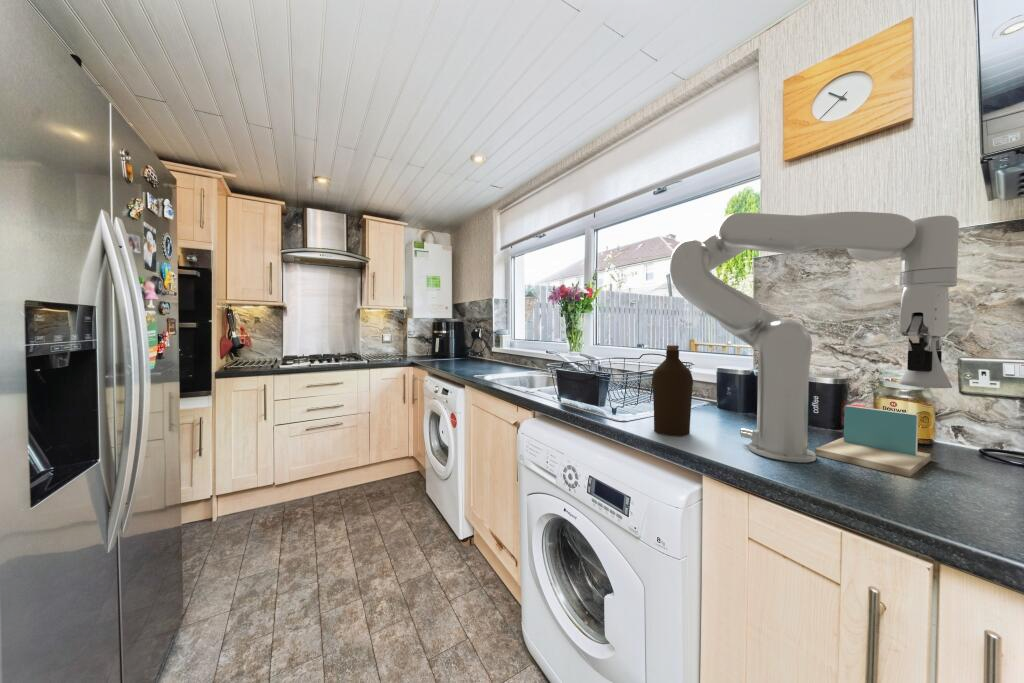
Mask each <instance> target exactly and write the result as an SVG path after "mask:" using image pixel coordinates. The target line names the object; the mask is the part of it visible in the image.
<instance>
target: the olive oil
mask: <svg viewBox="0 0 1024 683" xmlns="http://www.w3.org/2000/svg"><path fill="white" fill-rule="evenodd" d="M679 347H680V346H679V345H673V344H671V345H666V351H665V356H666V357H665V359H664V360H663V361H662V362H661V363H660V364H659V365H658V366H657V367H656V368H655V369H654V372H653V374H652V378H651V379H652V396H653V397H652V399H653V400H652V401H653V429H654V431H655V432H656V433H657V434H660V435H666V436H672V437H684V436H685V437H686V436H688V435H690V431H691V430H690V429H691V416H692V414H691V413H692V399H693V386H694V378H693V375H692V372H691V370H690V369H689V368H688V367H687V365H686V364H684V363H683V362H682V361H681V360H680V349H679Z"/></svg>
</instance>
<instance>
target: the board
mask: <svg viewBox="0 0 1024 683" xmlns="http://www.w3.org/2000/svg"><path fill="white" fill-rule="evenodd" d="M814 453H815V454H816V457H817V456H818V457H820V458H821V457H822V458H826V459H831V460H834V461H839V462H843V463H846V464H847V463H848V464H851V465H855V466H856V465H857V466H860V467H865V468H869V469H873V470H878V471H883V472H887V473H891V474H895V475H899V476H904V477H908V478H910V477H912V476H913V475H915V473H917V472H918V471H919V470H921V469H922V468H923V467H925V466H926V465H927V464H929V463H930V462H931V453H926V452H922V451H917V455H916V456H914V455H909V454H904V453H899V452H894V451H889V450H883V449H878V448H873V447H868V446H863V445H858V444H853V443H848V442H844V436H843V437H840V438H838V439H835V440H833V441H830V442H827V443H826V444H823V445H821V446H818V447H816V448H815V449H814Z"/></svg>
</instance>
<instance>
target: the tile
mask: <svg viewBox="0 0 1024 683" xmlns="http://www.w3.org/2000/svg"><path fill="white" fill-rule="evenodd" d="M843 415H844V418H843V420H844V423H843V437H844V442H848V443H853V444H858V445H863V446H868V447H873V448H878V449H883V450H889V451H894V452H899V453H904V454H909V455H914V456H916V455H917V452H918V441H919V439H918V438H919V436H918V435H919V434H918V433H919V432H918V431H919V414H918V413H917V414H916V413H909V412H901V411H894V410H886V409H879V408H871V407H863V406H855V405H844V414H843Z"/></svg>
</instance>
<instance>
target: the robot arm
mask: <svg viewBox="0 0 1024 683" xmlns="http://www.w3.org/2000/svg"><path fill="white" fill-rule="evenodd" d="M959 227H960V223H959V220H958V218H957V217H955V216H953V215H935V216H927V217H922V218H917V219H914V220H912V219H911V218H909V217H906V216H904V215H901V214H898V213H892V212H890V213H889V212H873V211H871V212H870V211H837V212H836V211H835V212H827V213H826V212H825V213H813V214H805V215H803V214H802V215H801V214H800V215H799V214H798V215H797V214H796V215H795V214H781V213H780V214H779V213H778V214H775V213H762V212H761V213H758V212H734V213H731V214H729V215H726V216H725V217H724V218H723V219H722V220H721V222H720V223H719V225H718V227H717V231H716V232H715V233H713V234H711V235H710V236H708V237H707V238H705V239H703V240H701V241H700V240H697V239H686V240H683V241H681V242H680V243H679V244H677V246H675V248H674V249H673V251H672V254H671V257H670V264H669V272H670V277H671V281H672V284H674V285H673V286H674V287H675V289H676V290H677V291H678V293H679V294H680V296H682V297H683V298H684V299H685V300H686V301H688V303H690V304H692V305H693V306H695V307H696V308H697V309H699V310H700V311H702V312H703V313H705V314H706V315H708V316H709V317H711V318H712V319H714V321H717V322H718V323H719V325H720V326H721V328H723V329H724V330H725V331H727V332H728V333H730V334H731V335H733V336H734V337H736V338H737V339H738V340H741V341H742V342H743V343H745V344H746V345H749V346H750V347H751V348H753V349H754V350H755V351H758V367H757V405H756V406H757V411H756V415H757V416H756V429H755V430H752V429H747V428H744V427H742V428H740V430H739V434H740V437H742V438H745V439H750V441H751V442H750V443H749V444H748V449H749V451H751V452H752V453H755V454H756V455H758V456H761V457H764V458H768V459H771V460H772V459H773V460H777V461H783V462H787V463H788V462H790V463H803V464H804V463H811V462H815V461H816V460H817V455H816V454H815V451H812V450H810V449H809V448H808V431H809V430H808V428H809V427H808V426H809V386H810V385H809V384H810V383H809V382H810V381H809V379H810V377H809V375H810V366H811V359H812V351H813V340H812V336H811V334H810V332H809V330H808V329H807V328H806V326H804V325H803V324H801V323H800V322H797V321H795V320H790V319H781V318H780V317H778V316H776V315H774V314H773V313H771V312H770V311H768V310H766V309H765V308H763V307H762V305H761V304H760V302H759V301H758V300H756V299H755V298H753V297H751V296H749V295H747V294H745V293H743V292H742V291H740V290H738V289H736V288H735V287H733V286H731V285H729V284H728V283H726V282H725V281H723V280H722V279H720V278H718V276H715V275H714V274H713V273H712V272H711V271H713V270H715V269H716V268H719V267H720V266H722V265H723V264H725V263H728V261H730V260H732V259H733V258H735V257H737V256H738V255H740V254H742V253H743V252H744V251H746V250H747V251H757V252H770V253H778V254H779V253H780V254H785V255H786V254H800V253H804V252H808V251H813V250H814V251H815V250H821V249H842V250H843V249H845V250H847V253H848V254H849V256H851V258H853V259H854V260H857V261H858V262H866V263H867V262H877V261H883V260H889V259H896V258H900V259H899V260H900V262H899V263H900V264H899V268H900V269H899V290H901V291H902V294H901V299H900V308H899V320H898V334H899V336H903V337H908V338H909V339H908V345H907V363H906V364H907V366H906V367H907V368H906V369H908V370H910V371H925V372H930V371H932V357H933V351H930V347H931V339H932V338H938V340H937V341H936V351H937V355H938V358H939V361H940V363H941V364H942V360H943V359H942V355H943V354H942V352H943V350H942V337H943V336H945V335H947V334H948V332H949V331H948V329H949V318H950V315H949V314H950V312H949V310H950V306H949V304H950V299H949V298H950V297H949V296H950V295H949V294H950V293H949V288H953V287H957V286H958V284H957V283H958V258H959V257H958V256H959V254H958V253H959V232H960V231H959V229H960V228H959ZM925 339H926V340H925Z"/></svg>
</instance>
